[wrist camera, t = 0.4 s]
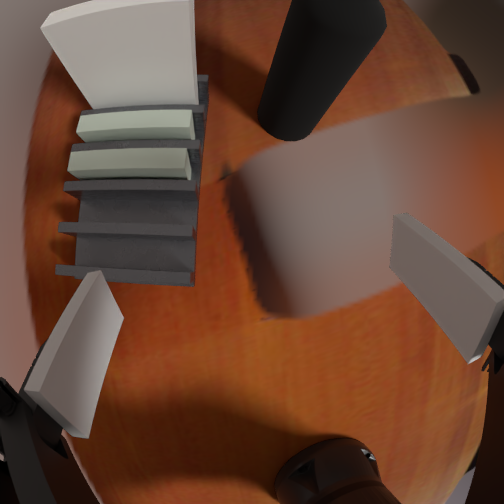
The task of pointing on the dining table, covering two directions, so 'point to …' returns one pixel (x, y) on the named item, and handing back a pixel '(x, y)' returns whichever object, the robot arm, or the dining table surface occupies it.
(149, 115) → the offcut
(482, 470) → the robot arm
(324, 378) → the dining table surface
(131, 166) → the offcut
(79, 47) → the tall sheet
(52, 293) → the dining table surface
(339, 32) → the wine bottle
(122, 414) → the dining table surface
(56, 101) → the dining table surface
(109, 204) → the rack
